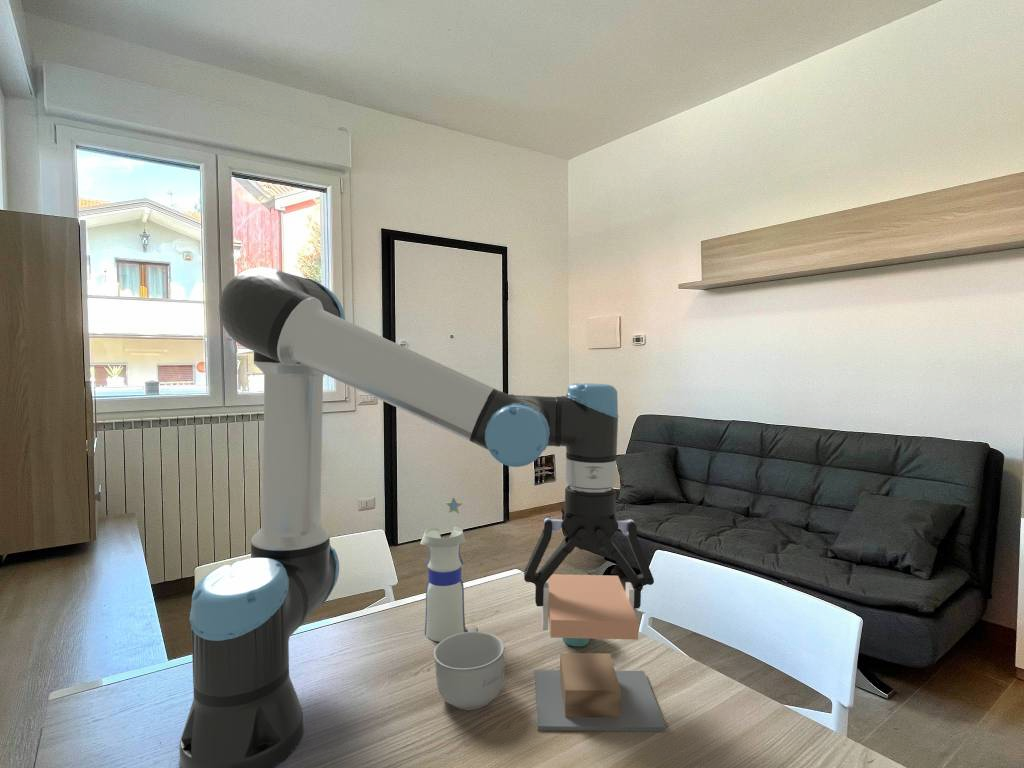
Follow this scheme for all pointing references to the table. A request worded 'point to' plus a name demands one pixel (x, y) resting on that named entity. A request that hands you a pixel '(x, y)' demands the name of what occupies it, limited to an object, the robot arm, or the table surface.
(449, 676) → the teacup
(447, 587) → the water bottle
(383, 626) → the table surface
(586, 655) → the brown wooden block
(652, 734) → the table surface
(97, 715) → the table surface
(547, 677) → the mat
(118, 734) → the table surface
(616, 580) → the lid
